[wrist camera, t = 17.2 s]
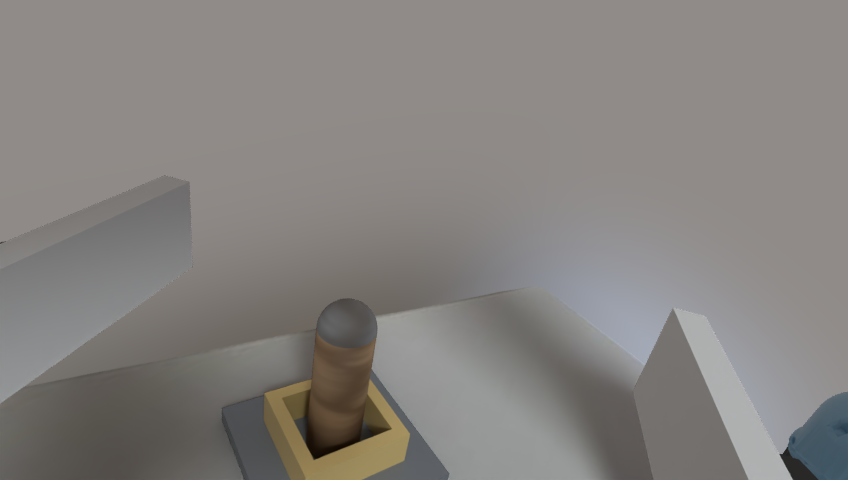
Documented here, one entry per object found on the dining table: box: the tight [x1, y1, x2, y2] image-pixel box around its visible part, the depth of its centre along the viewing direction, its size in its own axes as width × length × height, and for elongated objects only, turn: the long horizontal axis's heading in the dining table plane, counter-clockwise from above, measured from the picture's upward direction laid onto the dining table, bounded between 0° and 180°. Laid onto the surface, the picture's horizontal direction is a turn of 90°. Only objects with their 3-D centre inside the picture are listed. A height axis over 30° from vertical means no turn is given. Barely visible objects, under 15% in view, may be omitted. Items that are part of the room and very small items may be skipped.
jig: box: [222, 369, 449, 480], centre depth 46 cm, size 16×16×5 cm
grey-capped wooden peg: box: [306, 299, 377, 459], centre depth 43 cm, size 5×5×16 cm
